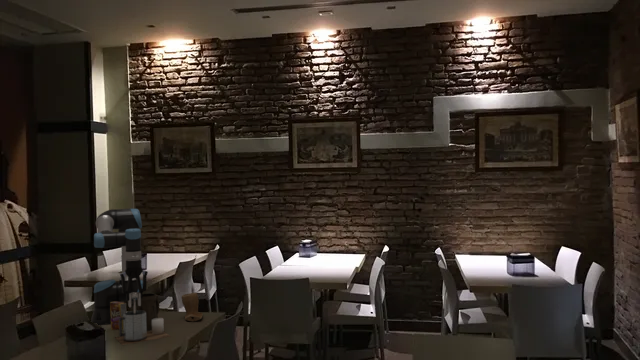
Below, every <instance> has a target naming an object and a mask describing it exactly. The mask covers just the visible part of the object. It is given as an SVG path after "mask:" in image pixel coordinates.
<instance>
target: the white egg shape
mask: <svg viewBox="0 0 640 360" xmlns="http://www.w3.org/2000/svg"><path fill="white" fill-rule="evenodd" d="M164 322H165V320H164V318H163V317H158V318H155V319H152V330H151V331H152V334H162V333H164V332H165V331H164V329H165V328H164V327H165V326H164V325H165V323H164Z"/></svg>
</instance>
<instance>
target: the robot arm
mask: <svg viewBox="0 0 640 360" xmlns="http://www.w3.org/2000/svg"><path fill="white" fill-rule="evenodd" d="M142 223H143V222H142V216H141V213H140V209H138V208H118V209H114V208H112V209H108V210H105V211H104V212H101V213H100V214H99V215H98V216H97V217H96V219H95V227H96V229H97V232H95V233H94V235H93V246H94V248H96V249H97V248H101V249H104V248H115V247H121V272H120V273H119V276H120V277H119V279H118V281H116V280H115V279H106V280H101V281H98V282H96V283H95V284H94V285H93V294H94V295H93V297H94V298H93V299H94V301H93V303H94V305H93V307H94V309H93V313H92V316H91V320H90V321H91V322H94V323H97V324H99V325H100V326H101V325H109V324H110V325H111V311H110V302H114V301H118V302H123V303H125V302H127V305H128V308H132V302H133V299H131V294H130V293H133V292H138V293H139V298H138V306H141V299H142V298H143V294H144V292H146V291H147V278H148V277H147V276H148V273H149V271H147V270H143V267H142V230H141V229H142V228H143V224H142ZM114 230H118V231H115V232H114ZM141 275H142V279H141ZM136 301H137V298H136ZM97 324H96V325H97ZM99 325H98V326H99Z"/></svg>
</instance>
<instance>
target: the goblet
mask: <svg viewBox="0 0 640 360" xmlns="http://www.w3.org/2000/svg"><path fill="white" fill-rule="evenodd" d="M130 294H131V299H133V301H132V302H133V311H134V315H136V310H137V300H136V298H139V293H138V292H133V293H130Z"/></svg>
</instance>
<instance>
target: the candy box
mask: <svg viewBox="0 0 640 360" xmlns="http://www.w3.org/2000/svg"><path fill="white" fill-rule="evenodd" d="M127 310H128V309H127V302H118V301H114V302H110V311H111V324H110V330H111V331H115V330H119V318H122V317H123V313H126V312H128V311H127ZM122 330H124V327H123V320H122Z"/></svg>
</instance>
